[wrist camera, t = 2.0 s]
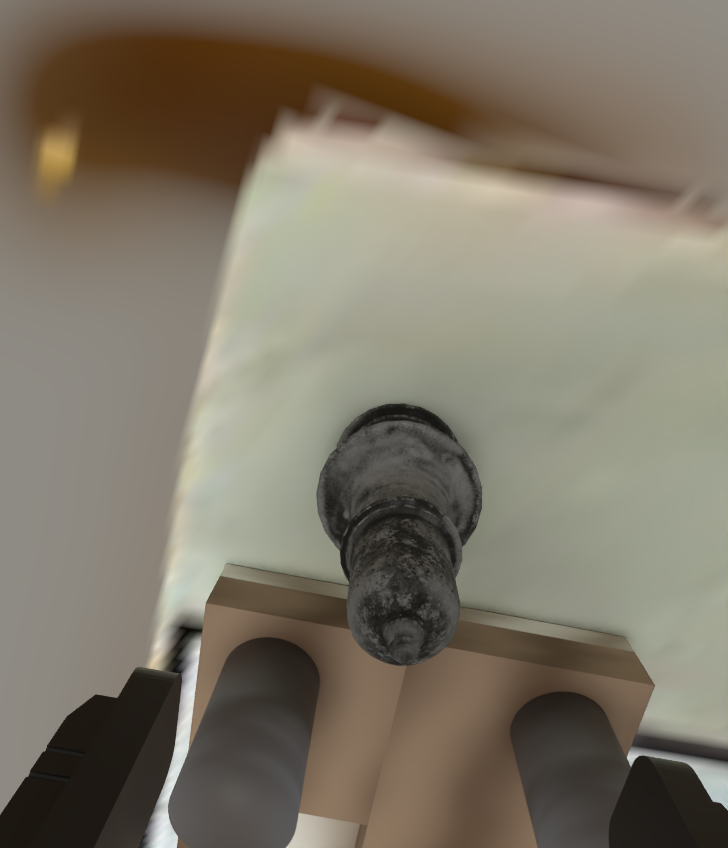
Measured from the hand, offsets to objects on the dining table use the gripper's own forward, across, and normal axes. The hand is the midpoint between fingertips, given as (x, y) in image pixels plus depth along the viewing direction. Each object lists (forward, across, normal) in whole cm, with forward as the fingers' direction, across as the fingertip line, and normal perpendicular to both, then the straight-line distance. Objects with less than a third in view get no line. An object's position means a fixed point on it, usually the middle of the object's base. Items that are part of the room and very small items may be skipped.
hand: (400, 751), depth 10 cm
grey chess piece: (+15, 0, 0) cm, 15 cm away
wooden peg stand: (+14, -3, +15) cm, 21 cm away
